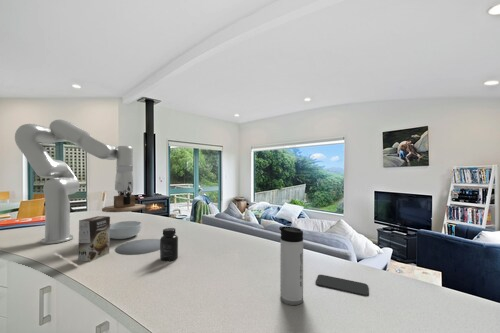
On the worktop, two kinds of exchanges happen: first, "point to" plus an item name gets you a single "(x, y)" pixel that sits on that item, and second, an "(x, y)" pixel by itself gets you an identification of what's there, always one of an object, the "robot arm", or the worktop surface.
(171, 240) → the supplement bottle
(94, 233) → the coffee box
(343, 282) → the phone
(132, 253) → the tray
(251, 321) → the worktop surface
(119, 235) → the cereal bowl
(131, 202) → the lid
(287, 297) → the travel mug
